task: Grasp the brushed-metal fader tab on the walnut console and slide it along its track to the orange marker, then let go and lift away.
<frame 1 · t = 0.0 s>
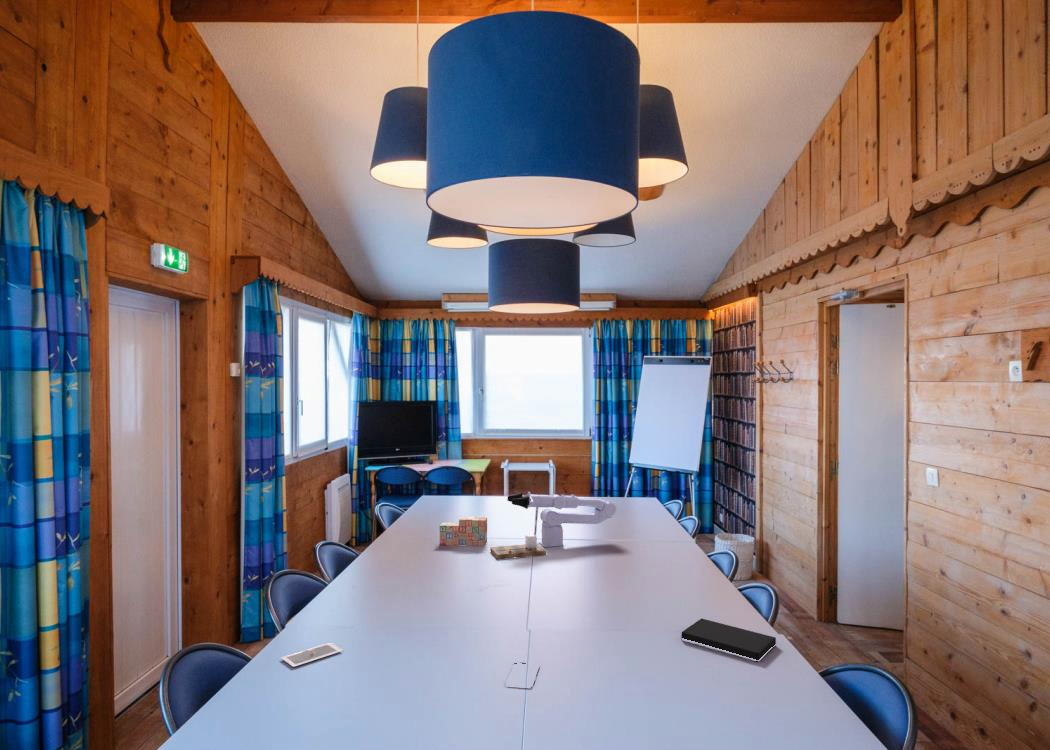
hand: (509, 500, 299), 22 cm above the table, tool horizontal, fingers open, 7 cm apart
fader tab: (531, 541, 291), point 5 cm above the table, slide at 0.0 cm
touchpad: (312, 658, 186), on the table
external hard drive: (728, 645, 195), on the table
fader console: (517, 553, 290), on the table
cell phone: (523, 677, 175), on the table
stack of blocks: (463, 544, 305), on the table
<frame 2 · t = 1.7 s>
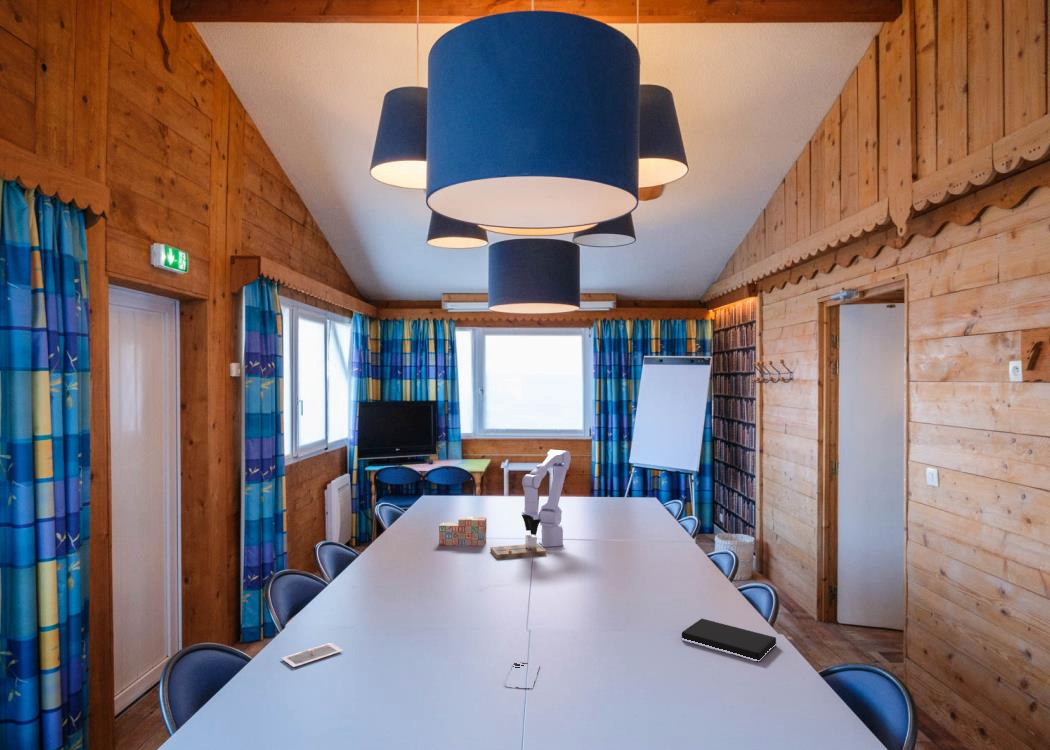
hand: (531, 532, 291), 9 cm above the table, tool pointing down, fingers open, 7 cm apart
nothing on the table moved.
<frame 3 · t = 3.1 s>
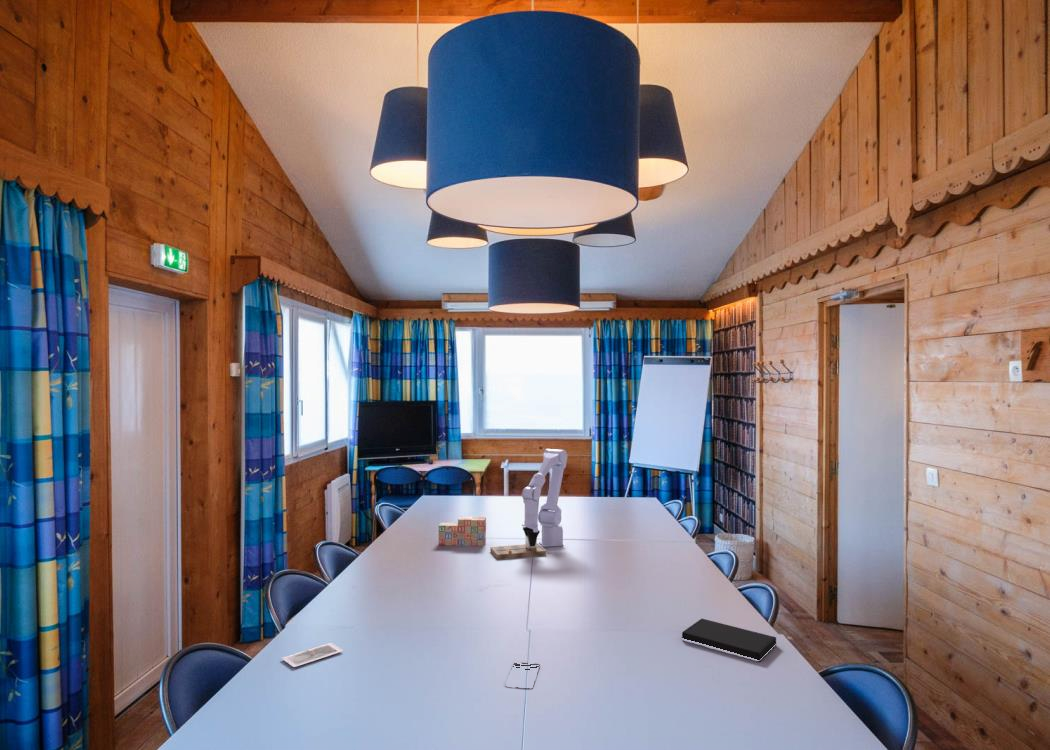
hand: (531, 544, 291), 3 cm above the table, tool pointing down, fingers closed on fader tab, 4 cm apart
fader tab: (531, 541, 291), point 5 cm above the table, slide at 0.0 cm, touching gripper
everything else where it was.
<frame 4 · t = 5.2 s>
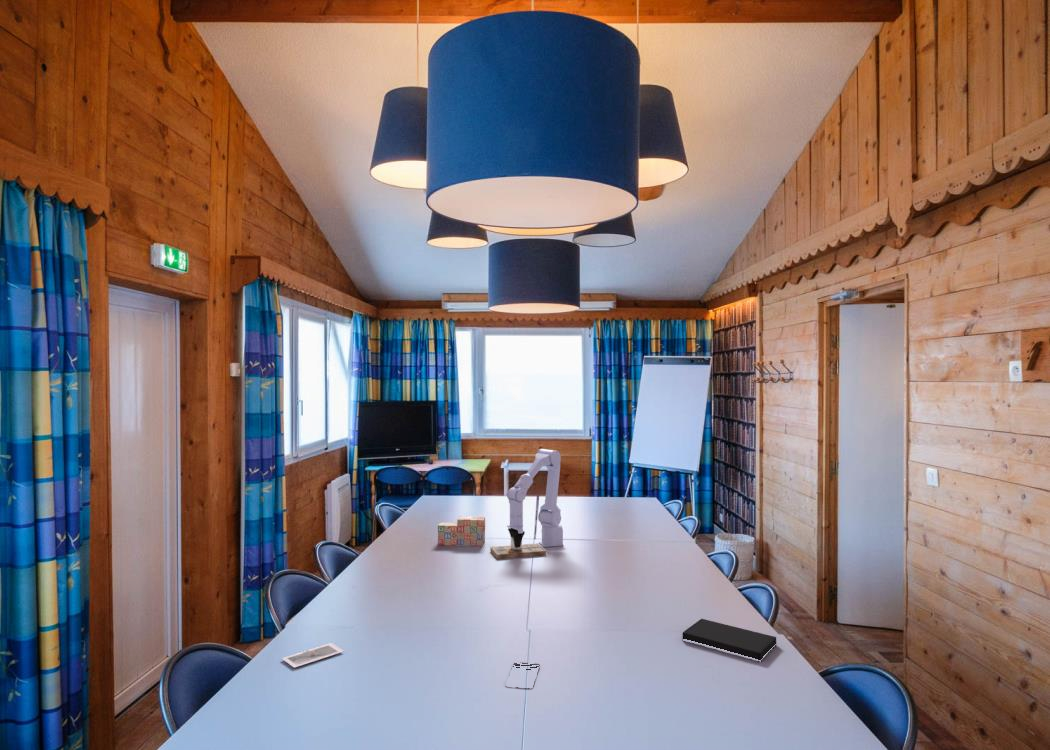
hand: (516, 545, 289), 3 cm above the table, tool pointing down, fingers closed on fader tab, 4 cm apart
fader tab: (516, 542, 289), point 5 cm above the table, slide at 6.8 cm, touching gripper
everything else where it was.
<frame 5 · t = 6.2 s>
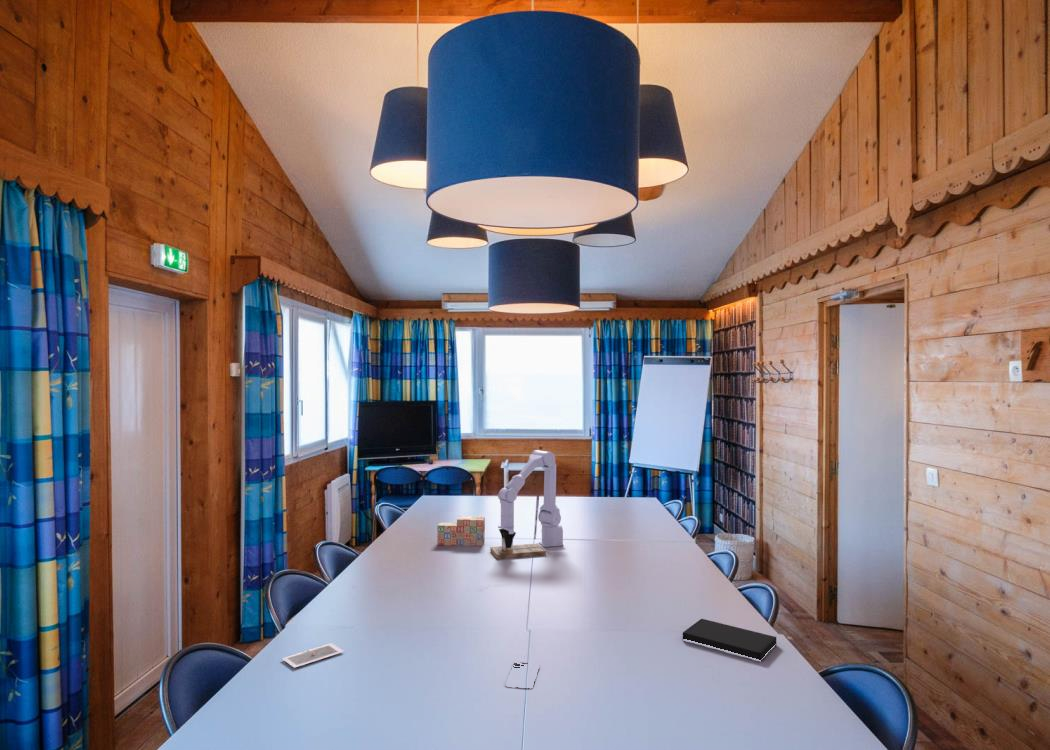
hand: (507, 546, 288), 3 cm above the table, tool pointing down, fingers closed on fader tab, 4 cm apart
fader tab: (507, 543, 288), point 5 cm above the table, slide at 10.9 cm, touching gripper
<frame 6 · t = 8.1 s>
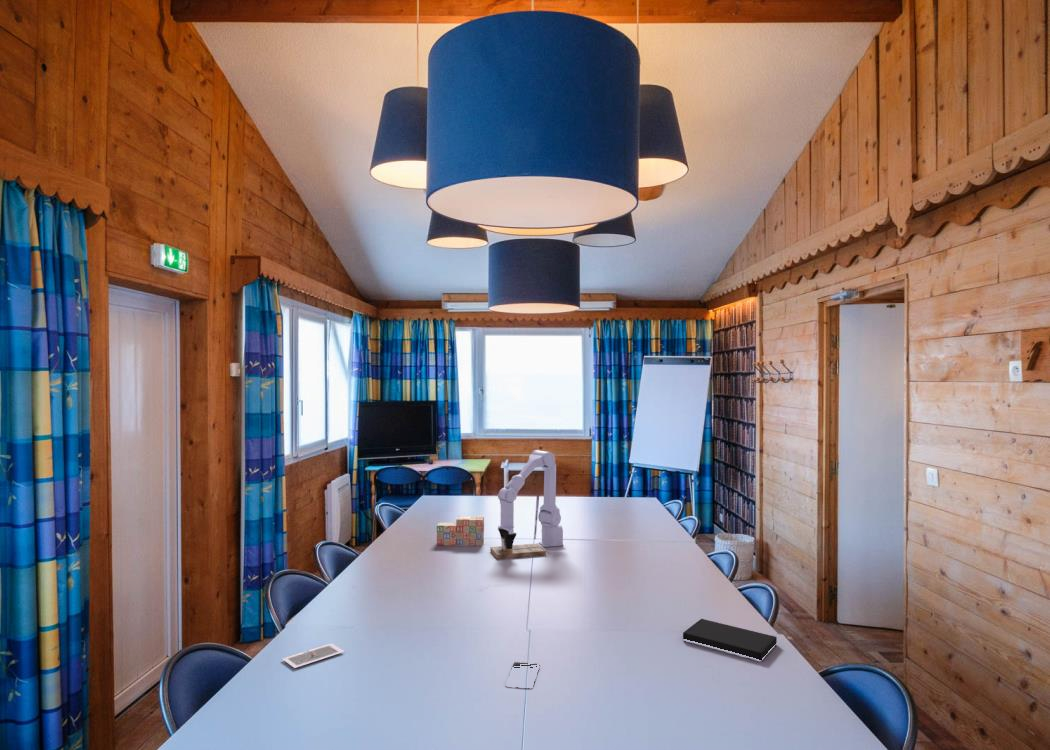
hand: (507, 546, 288), 3 cm above the table, tool pointing down, fingers open, 7 cm apart
fader tab: (507, 543, 288), point 5 cm above the table, slide at 11.0 cm
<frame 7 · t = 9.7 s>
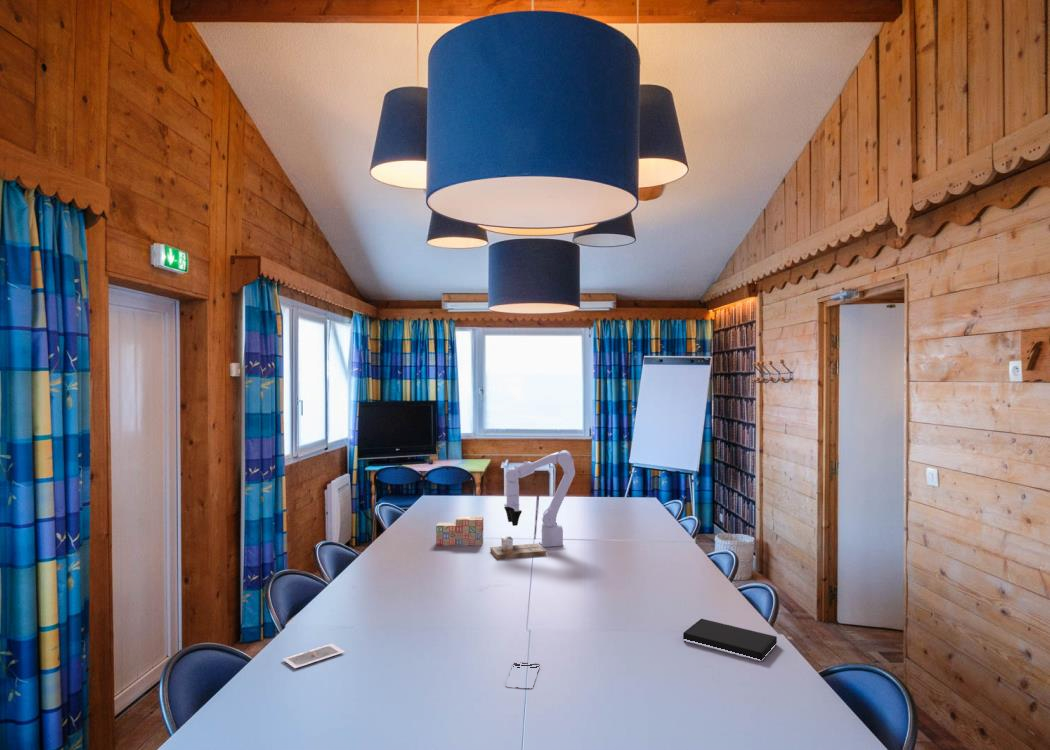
hand: (512, 523, 305), 9 cm above the table, tool pointing down, fingers open, 7 cm apart
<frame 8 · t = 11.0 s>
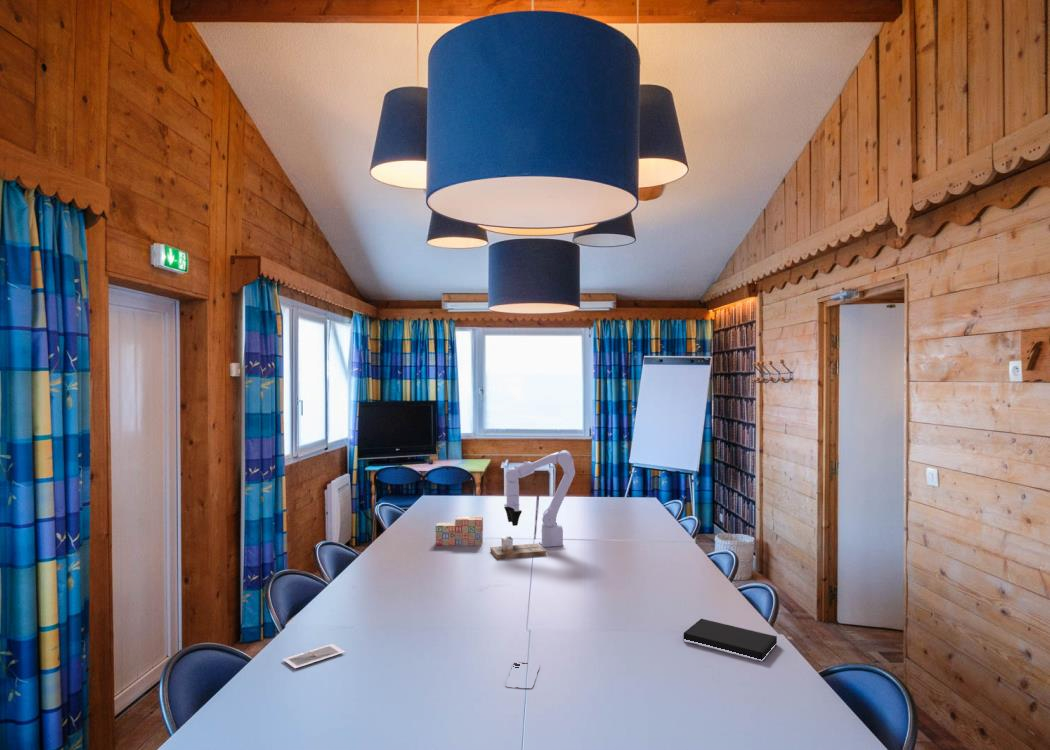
hand: (512, 523, 305), 9 cm above the table, tool pointing down, fingers open, 7 cm apart
at the end: fader tab slide at 11.0 cm; the gripper is holding nothing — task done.
